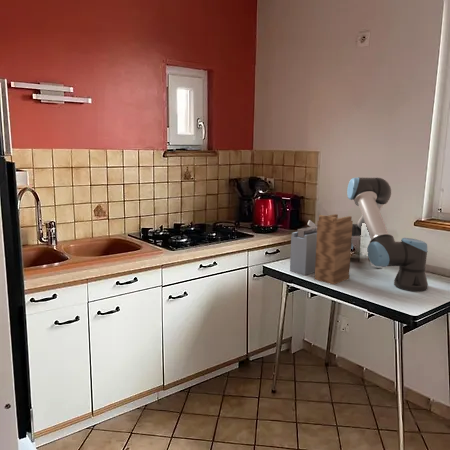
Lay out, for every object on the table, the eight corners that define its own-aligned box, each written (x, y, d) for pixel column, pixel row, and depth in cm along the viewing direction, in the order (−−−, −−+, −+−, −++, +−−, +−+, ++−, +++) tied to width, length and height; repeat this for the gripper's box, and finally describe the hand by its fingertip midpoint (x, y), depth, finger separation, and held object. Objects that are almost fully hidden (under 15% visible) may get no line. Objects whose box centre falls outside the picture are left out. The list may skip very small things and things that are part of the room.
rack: (320, 270, 246) (322, 232, 242) (305, 275, 237) (306, 235, 233) (305, 266, 254) (307, 229, 250) (289, 271, 244) (291, 232, 240)
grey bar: (329, 232, 251) (329, 225, 250) (304, 238, 236) (304, 230, 235) (321, 231, 255) (321, 224, 254) (296, 236, 240) (296, 229, 239)
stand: (348, 278, 232) (353, 214, 226) (333, 284, 222) (337, 217, 216) (330, 274, 240) (334, 212, 234) (314, 279, 230) (317, 214, 224)
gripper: (353, 248, 253) (336, 233, 238) (316, 240, 270) (298, 226, 256) (358, 235, 254) (341, 220, 240) (320, 229, 272) (302, 214, 257)
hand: (318, 223), depth 248 cm, fingers open, 13 cm apart
